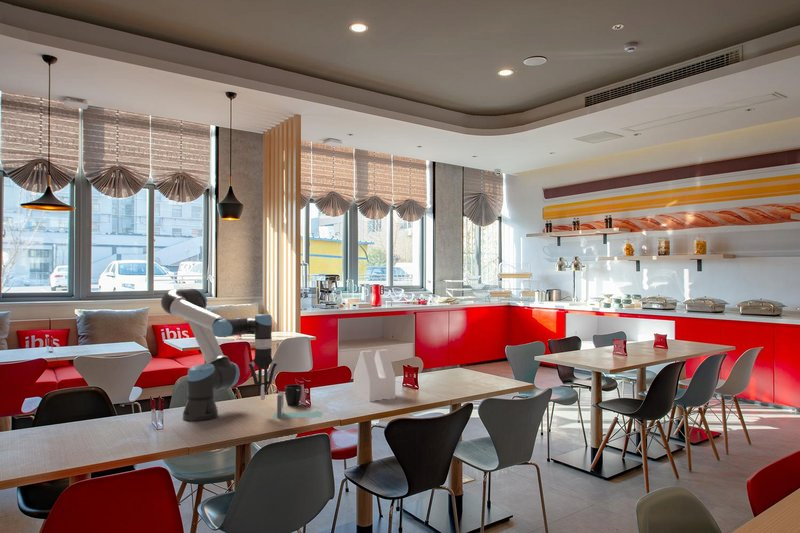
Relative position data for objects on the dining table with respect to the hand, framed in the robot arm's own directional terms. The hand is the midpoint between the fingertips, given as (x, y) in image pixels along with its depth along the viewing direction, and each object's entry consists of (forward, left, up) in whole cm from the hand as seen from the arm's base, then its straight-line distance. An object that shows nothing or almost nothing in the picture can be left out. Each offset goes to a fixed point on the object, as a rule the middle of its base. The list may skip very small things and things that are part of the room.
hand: (262, 399), depth 253 cm
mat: (+16, 0, -8) cm, 18 cm away
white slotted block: (+54, +38, -8) cm, 66 cm away
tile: (+8, 0, -8) cm, 11 cm away
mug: (+13, +20, -8) cm, 25 cm away
